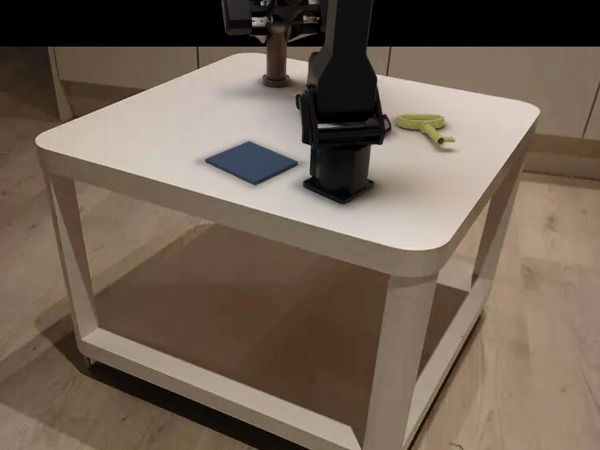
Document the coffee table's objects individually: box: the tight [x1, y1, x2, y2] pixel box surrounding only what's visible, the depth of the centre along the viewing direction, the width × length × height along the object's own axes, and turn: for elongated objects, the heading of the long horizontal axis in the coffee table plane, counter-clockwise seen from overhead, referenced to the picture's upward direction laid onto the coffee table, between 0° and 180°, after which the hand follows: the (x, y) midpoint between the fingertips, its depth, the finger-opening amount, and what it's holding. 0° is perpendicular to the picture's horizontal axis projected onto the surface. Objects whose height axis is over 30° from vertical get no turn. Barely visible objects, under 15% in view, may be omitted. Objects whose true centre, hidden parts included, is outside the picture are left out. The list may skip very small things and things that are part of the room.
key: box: [395, 113, 456, 146], centre depth 90 cm, size 7×12×2 cm, turn 25°
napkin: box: [204, 140, 299, 186], centre depth 80 cm, size 9×8×1 cm
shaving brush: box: [261, 0, 291, 88], centre depth 103 cm, size 5×5×14 cm
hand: (275, 39), depth 104 cm, fingers closed on shaving brush, 4 cm apart
